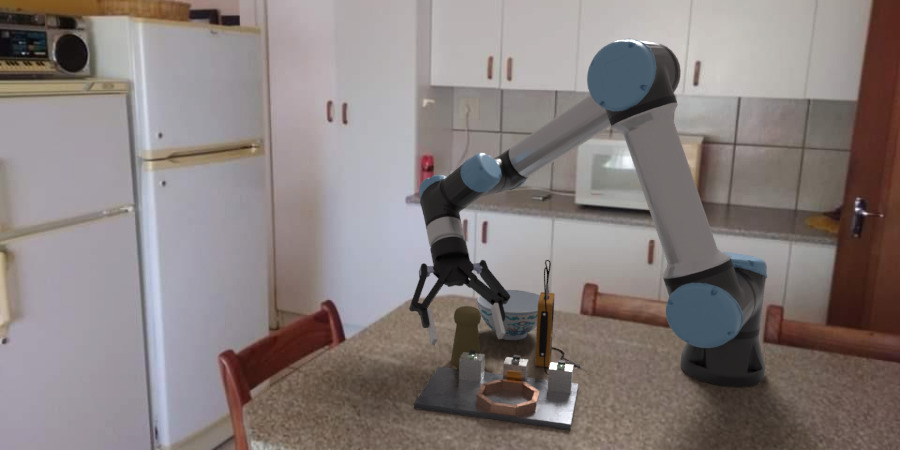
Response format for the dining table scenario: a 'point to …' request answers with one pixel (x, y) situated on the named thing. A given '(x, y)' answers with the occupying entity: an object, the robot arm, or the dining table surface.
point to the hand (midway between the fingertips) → (468, 339)
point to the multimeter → (546, 327)
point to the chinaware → (514, 313)
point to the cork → (465, 332)
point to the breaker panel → (502, 392)
